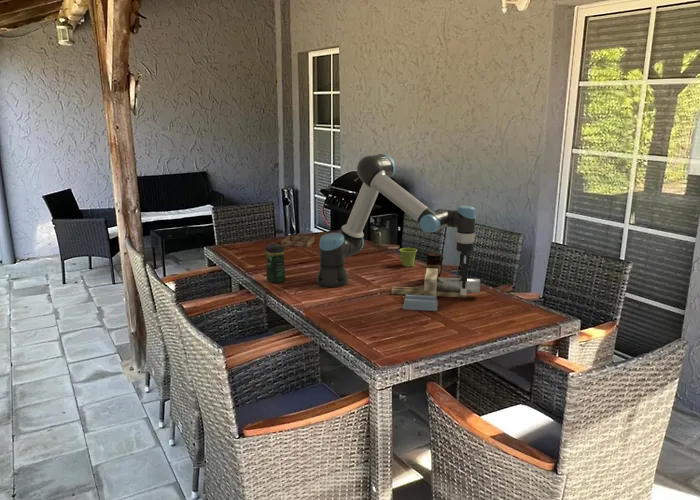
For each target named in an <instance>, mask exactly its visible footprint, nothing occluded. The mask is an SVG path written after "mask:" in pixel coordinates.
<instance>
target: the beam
mask: <svg viewBox="0 0 700 500" xmlns="http://www.w3.org/2000/svg"><path fill="white" fill-rule="evenodd" d="M437 277H438V269H434V268H427V267H426V270H425V276H424V286H423V287H408V286H392V288H391V294H393V295H406V294H407V295H426V296H437V297H448V298H449V297H450V298H467V295H460V292H453V291H436V285H437Z"/></svg>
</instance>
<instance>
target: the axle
mask: <svg viewBox="0 0 700 500" xmlns="http://www.w3.org/2000/svg"><path fill="white" fill-rule="evenodd" d="M459 280H461V277H460V278H459V277H441V276H440V277H437V285H436V291H453V292H460V289H461V281H459ZM480 292H481V278H467V293H475V294H476V293H478V294H479V293H480Z"/></svg>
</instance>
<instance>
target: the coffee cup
mask: <svg viewBox="0 0 700 500" xmlns="http://www.w3.org/2000/svg"><path fill="white" fill-rule="evenodd" d="M425 259H426V269H427V268H434V269H438V277H441V275H442V270H443V260H444V255H443V253H440V252H430V253H427V256H426V257H425Z"/></svg>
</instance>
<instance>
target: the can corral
mask: <svg viewBox="0 0 700 500" xmlns="http://www.w3.org/2000/svg"><path fill="white" fill-rule="evenodd" d="M290 240H293V241H290ZM313 243H315V236H309V235H308V236H305V235H288V236H287V237H285V238H284V239H282V240H280V245H282V246H284V247H291V246H295V247H296V246H297V247H296V248H300V247H301V248H309V247H310V246H311V245H312V244H313Z"/></svg>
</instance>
